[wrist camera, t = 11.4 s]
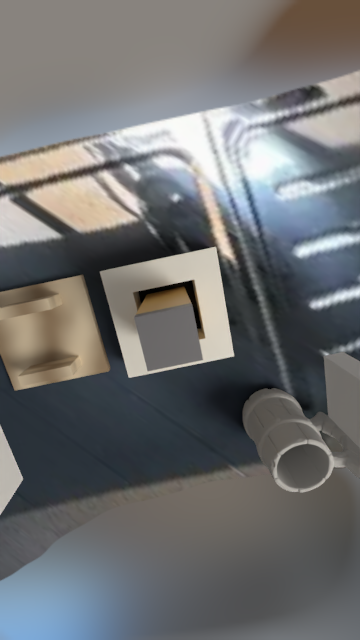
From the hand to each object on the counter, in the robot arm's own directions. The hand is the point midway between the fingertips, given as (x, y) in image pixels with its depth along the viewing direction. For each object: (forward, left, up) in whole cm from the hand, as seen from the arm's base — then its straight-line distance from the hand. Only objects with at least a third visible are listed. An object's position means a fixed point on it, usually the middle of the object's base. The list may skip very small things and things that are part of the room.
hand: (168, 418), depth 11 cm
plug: (0, 0, -22) cm, 22 cm away
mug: (+12, -17, -23) cm, 31 cm away
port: (0, 0, -22) cm, 22 cm away
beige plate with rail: (-15, 0, -22) cm, 27 cm away
